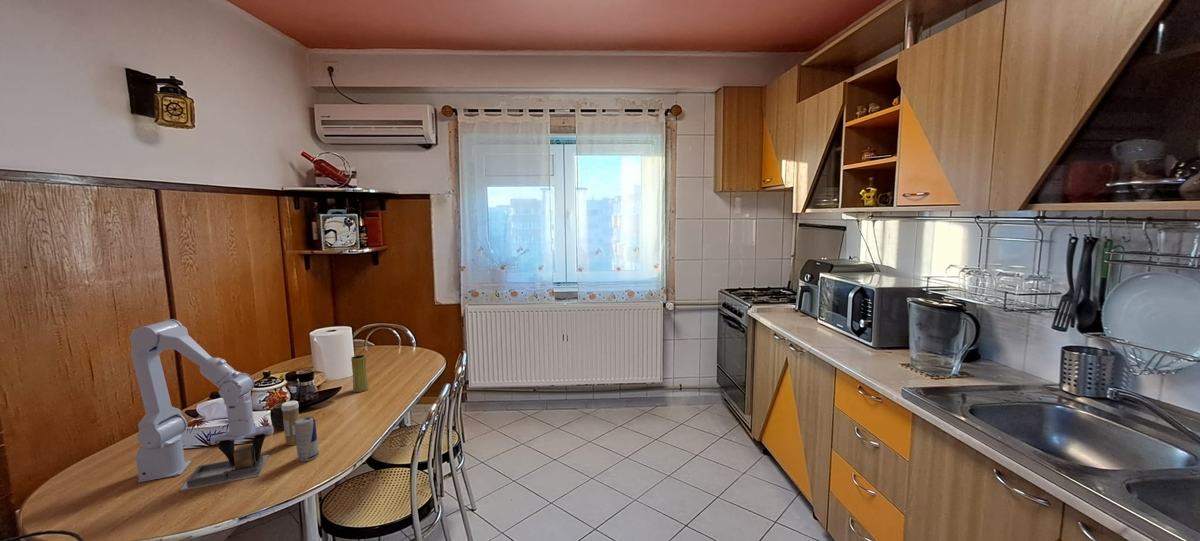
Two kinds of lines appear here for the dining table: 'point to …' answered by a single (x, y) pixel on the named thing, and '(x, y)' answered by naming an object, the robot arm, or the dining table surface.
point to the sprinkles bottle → (290, 420)
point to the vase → (359, 373)
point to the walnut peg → (244, 456)
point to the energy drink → (306, 438)
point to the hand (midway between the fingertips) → (245, 461)
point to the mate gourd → (278, 416)
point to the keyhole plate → (222, 473)
